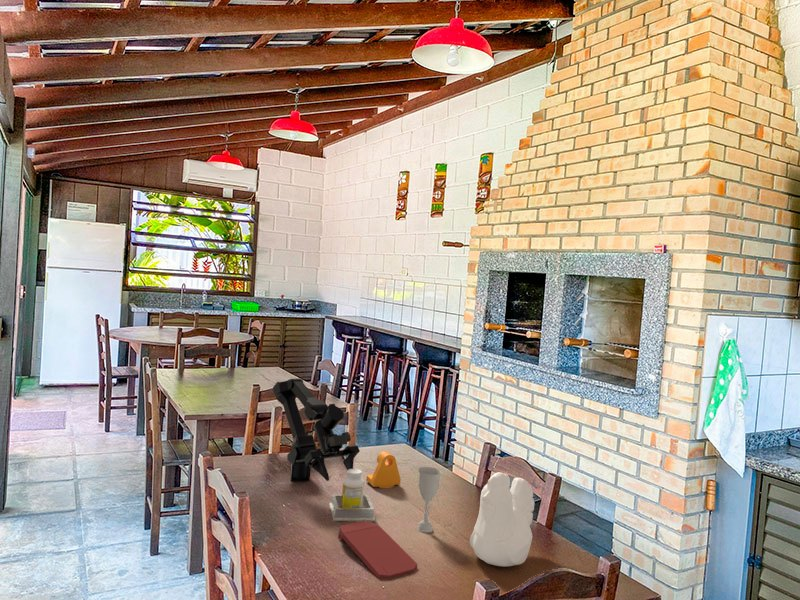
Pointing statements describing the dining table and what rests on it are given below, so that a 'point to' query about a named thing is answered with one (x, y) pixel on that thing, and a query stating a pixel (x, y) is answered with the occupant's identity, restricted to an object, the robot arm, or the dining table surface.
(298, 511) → the dining table surface
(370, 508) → the square shallow tray
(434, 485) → the chalice
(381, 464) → the bracket
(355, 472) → the supplement bottle
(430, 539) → the dining table surface
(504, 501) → the white bunny figurine
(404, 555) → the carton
